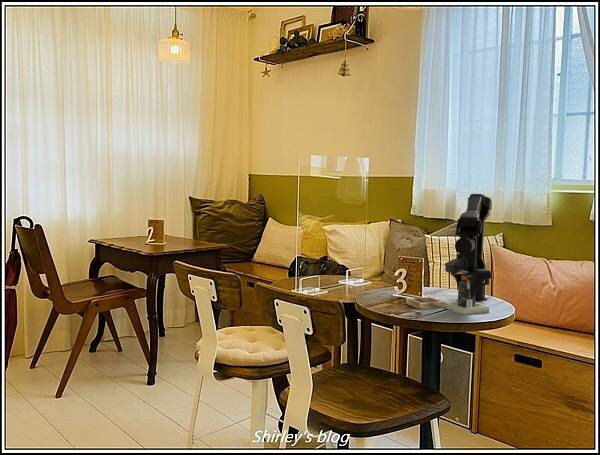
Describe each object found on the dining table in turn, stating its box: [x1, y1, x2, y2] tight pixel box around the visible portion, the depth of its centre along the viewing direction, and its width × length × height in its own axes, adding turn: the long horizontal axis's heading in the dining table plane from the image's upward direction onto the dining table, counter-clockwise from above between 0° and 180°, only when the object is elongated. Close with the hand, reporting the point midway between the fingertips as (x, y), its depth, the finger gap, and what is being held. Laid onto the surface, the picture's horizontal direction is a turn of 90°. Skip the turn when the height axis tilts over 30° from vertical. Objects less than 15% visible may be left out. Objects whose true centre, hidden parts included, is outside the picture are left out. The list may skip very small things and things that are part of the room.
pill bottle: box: [457, 275, 476, 308], centre depth 206 cm, size 6×6×11 cm
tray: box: [443, 300, 490, 316], centre depth 206 cm, size 11×11×2 cm
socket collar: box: [405, 296, 445, 310], centre depth 213 cm, size 10×10×2 cm
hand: (466, 295), depth 206 cm, fingers open, 6 cm apart
